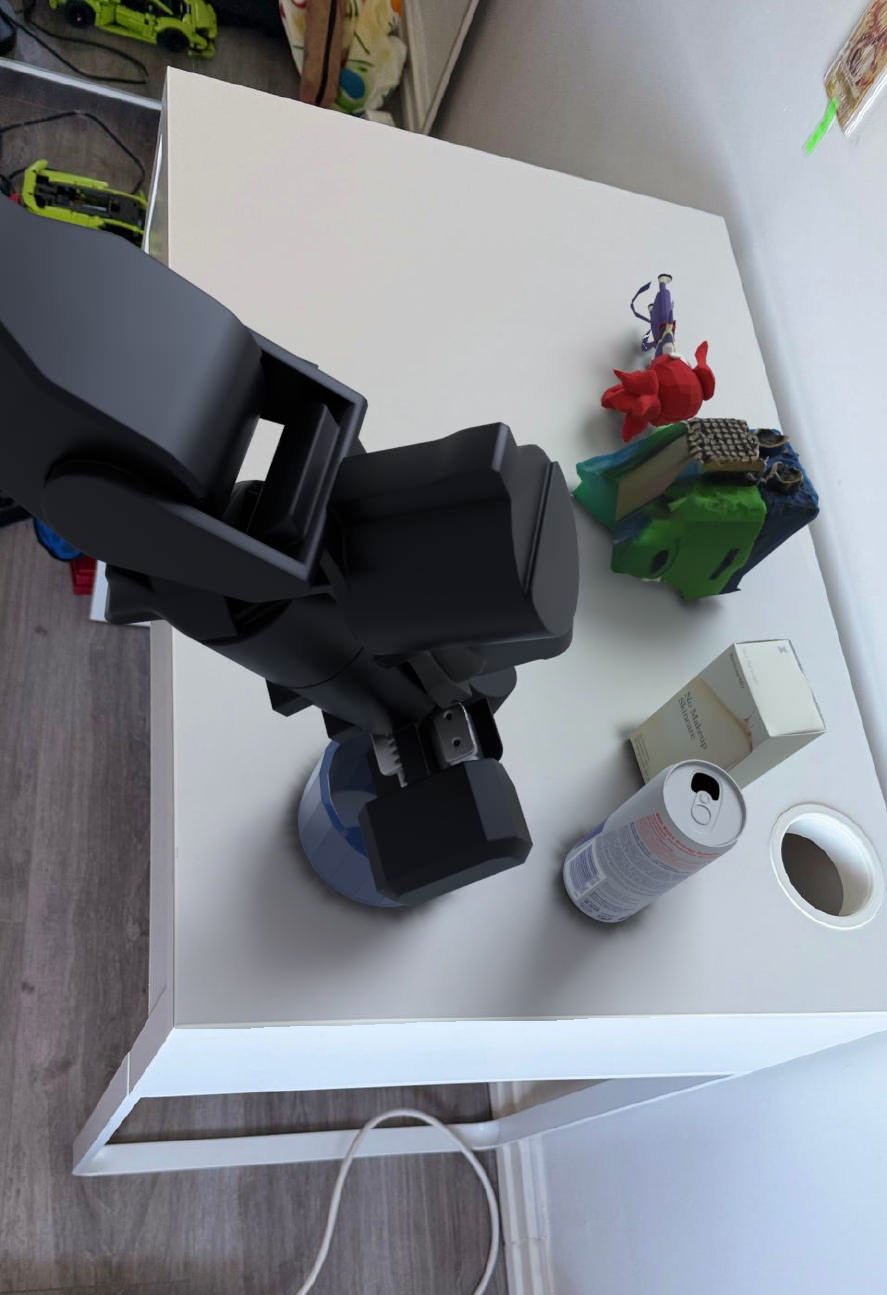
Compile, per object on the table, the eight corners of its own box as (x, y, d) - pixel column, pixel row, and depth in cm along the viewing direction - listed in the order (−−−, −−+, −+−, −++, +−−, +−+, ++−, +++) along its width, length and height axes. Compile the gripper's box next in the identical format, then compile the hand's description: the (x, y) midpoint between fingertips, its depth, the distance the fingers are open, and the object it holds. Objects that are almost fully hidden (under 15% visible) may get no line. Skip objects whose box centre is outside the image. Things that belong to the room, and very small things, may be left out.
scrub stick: (369, 804, 57) (445, 691, 47) (382, 746, 59) (459, 625, 49) (433, 824, 58) (522, 718, 48) (445, 766, 60) (532, 652, 49)
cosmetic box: (626, 735, 72) (728, 637, 61) (682, 730, 73) (790, 633, 63) (657, 823, 70) (768, 737, 59) (714, 815, 71) (831, 730, 61)
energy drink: (646, 859, 68) (756, 778, 58) (632, 937, 65) (745, 866, 55) (569, 828, 67) (667, 740, 57) (552, 905, 64) (651, 827, 54)
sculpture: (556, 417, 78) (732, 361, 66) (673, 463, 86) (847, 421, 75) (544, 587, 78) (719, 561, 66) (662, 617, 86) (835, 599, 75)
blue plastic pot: (279, 878, 60) (300, 841, 55) (319, 731, 64) (342, 685, 60) (442, 927, 62) (477, 895, 57) (470, 781, 66) (504, 741, 62)
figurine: (685, 327, 91) (701, 468, 84) (585, 317, 90) (593, 458, 83) (711, 261, 85) (730, 406, 79) (604, 249, 84) (615, 395, 78)
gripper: (593, 759, 34) (696, 844, 48) (436, 302, 40) (567, 494, 54) (293, 883, 37) (470, 929, 51) (191, 445, 44) (374, 591, 57)
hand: (474, 726), depth 53 cm, fingers closed on scrub stick, 2 cm apart
